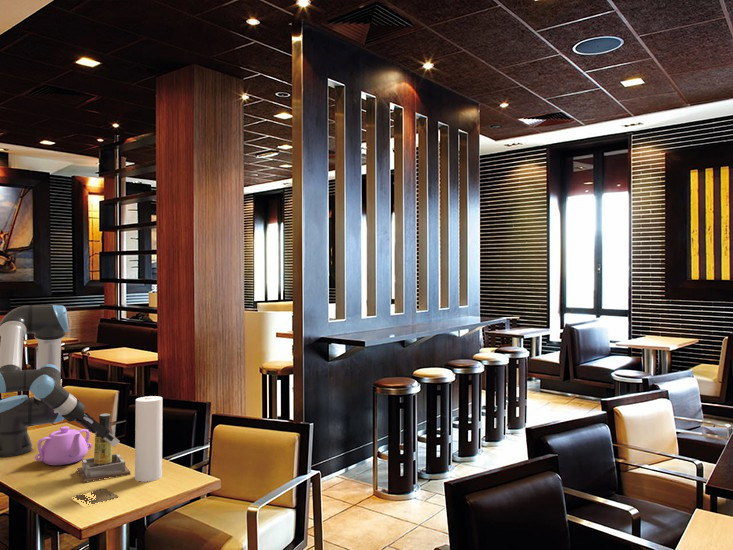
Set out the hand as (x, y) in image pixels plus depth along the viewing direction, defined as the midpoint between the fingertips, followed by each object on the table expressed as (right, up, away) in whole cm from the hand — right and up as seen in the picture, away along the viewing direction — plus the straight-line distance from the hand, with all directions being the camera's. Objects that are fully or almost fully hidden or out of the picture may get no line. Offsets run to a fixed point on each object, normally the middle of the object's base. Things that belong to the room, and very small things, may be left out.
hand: (113, 442), depth 216 cm
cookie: (+6, -11, -27) cm, 30 cm away
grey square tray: (-2, -11, -3) cm, 11 cm away
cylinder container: (+17, -11, -8) cm, 22 cm away
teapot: (-23, -11, +9) cm, 27 cm away
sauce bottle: (-2, -9, -3) cm, 9 cm away
